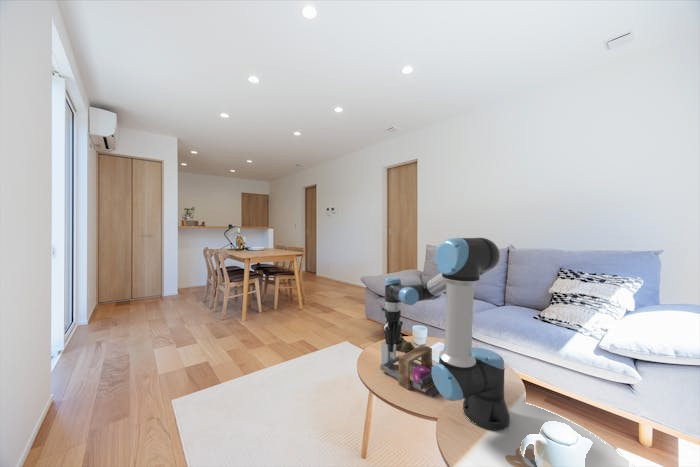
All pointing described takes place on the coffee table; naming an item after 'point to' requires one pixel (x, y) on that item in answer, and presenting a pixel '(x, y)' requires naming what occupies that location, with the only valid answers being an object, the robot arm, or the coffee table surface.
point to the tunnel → (410, 357)
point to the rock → (404, 345)
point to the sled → (389, 362)
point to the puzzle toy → (420, 373)
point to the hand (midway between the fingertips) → (392, 357)
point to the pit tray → (432, 391)
